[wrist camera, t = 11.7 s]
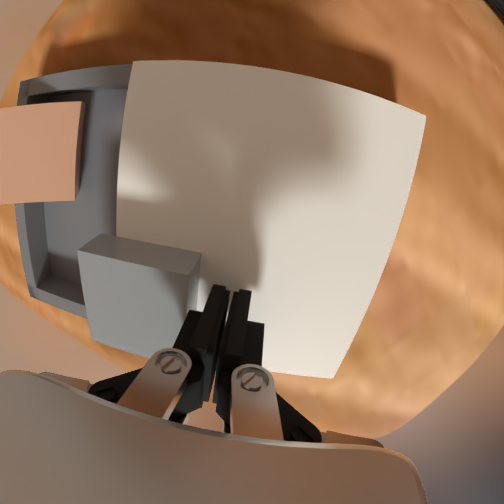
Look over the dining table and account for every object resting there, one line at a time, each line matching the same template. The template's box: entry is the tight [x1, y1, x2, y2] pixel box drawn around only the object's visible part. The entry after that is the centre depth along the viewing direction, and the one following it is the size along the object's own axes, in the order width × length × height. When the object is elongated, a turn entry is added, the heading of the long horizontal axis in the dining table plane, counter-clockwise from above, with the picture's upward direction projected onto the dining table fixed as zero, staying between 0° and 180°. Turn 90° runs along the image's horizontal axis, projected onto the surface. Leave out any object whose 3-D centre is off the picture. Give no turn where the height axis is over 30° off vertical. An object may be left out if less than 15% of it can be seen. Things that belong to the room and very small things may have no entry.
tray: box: [15, 64, 133, 319], centre depth 13 cm, size 14×8×2 cm, turn 170°
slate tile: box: [77, 233, 202, 358], centre depth 12 cm, size 5×5×2 cm
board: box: [116, 60, 426, 379], centre depth 13 cm, size 14×12×3 cm
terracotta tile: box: [0, 101, 86, 204], centre depth 11 cm, size 5×5×2 cm
